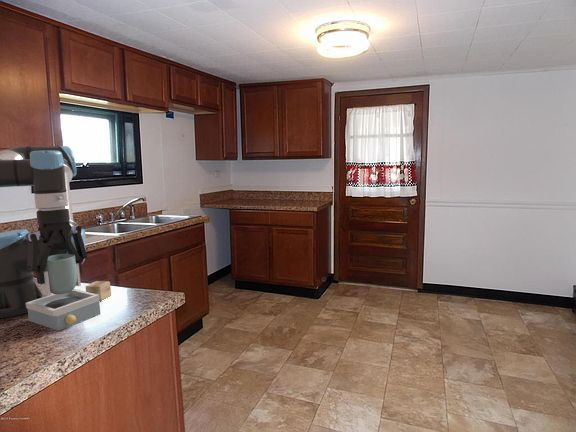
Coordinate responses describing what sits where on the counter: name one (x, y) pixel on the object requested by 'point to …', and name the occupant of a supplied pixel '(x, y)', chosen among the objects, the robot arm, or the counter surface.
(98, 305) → the grey drawer box
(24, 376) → the counter surface
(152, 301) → the counter surface
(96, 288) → the oak block
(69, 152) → the robot arm
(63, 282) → the cup
